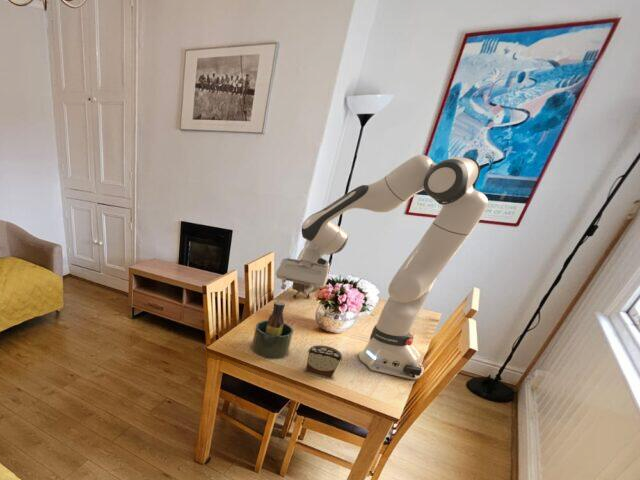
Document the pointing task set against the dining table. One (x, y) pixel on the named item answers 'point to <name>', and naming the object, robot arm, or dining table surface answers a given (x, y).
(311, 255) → the robot arm
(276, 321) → the sauce bottle
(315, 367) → the food container
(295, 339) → the dining table surface
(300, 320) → the dining table surface
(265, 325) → the bottle cooler
